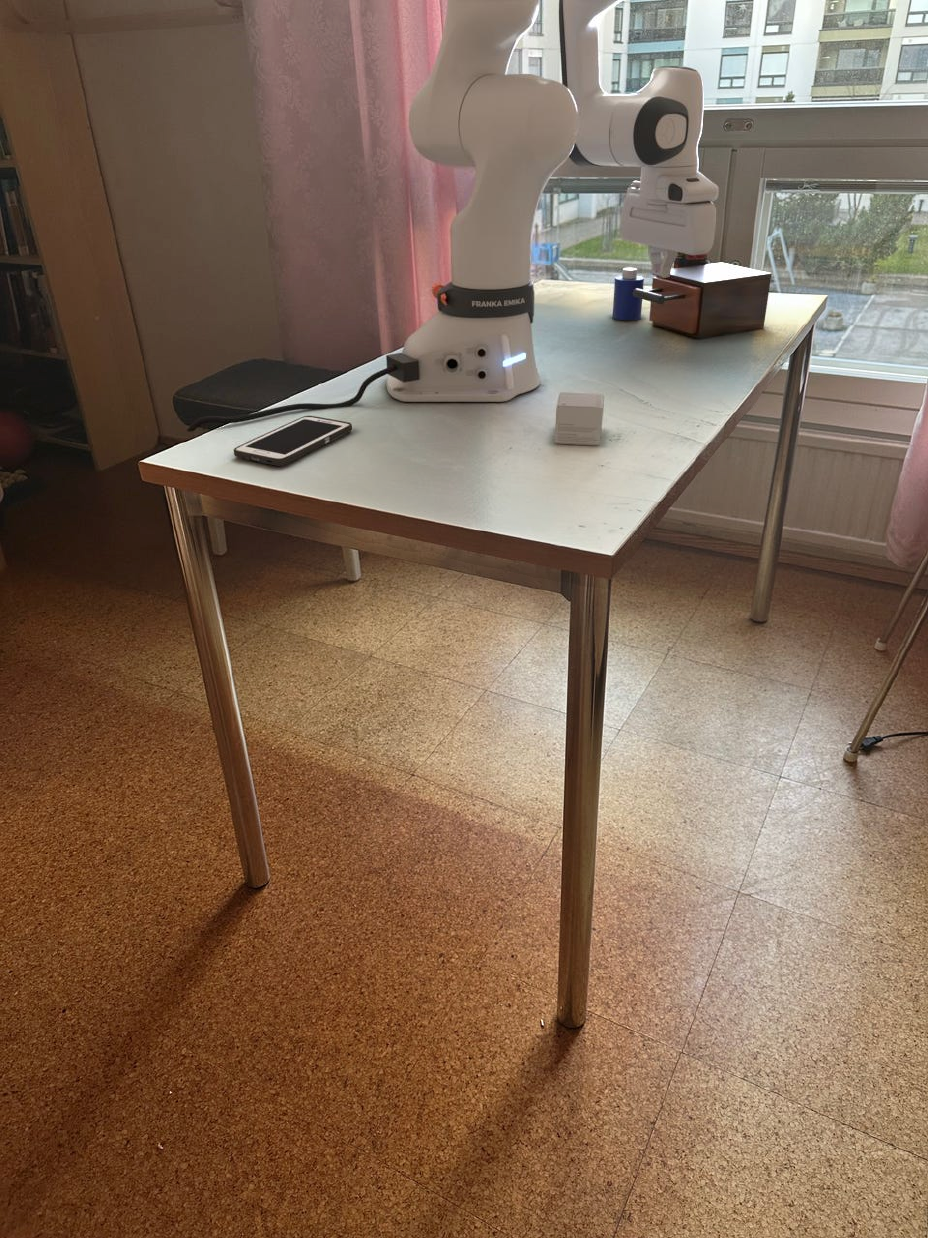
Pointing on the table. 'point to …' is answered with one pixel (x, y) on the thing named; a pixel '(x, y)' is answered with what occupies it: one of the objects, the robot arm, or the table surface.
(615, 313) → the detergent bottle
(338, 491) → the table surface
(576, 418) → the small box
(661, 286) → the wooden drawer
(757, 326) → the drawer box
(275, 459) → the cell phone
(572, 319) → the table surface
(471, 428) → the table surface
